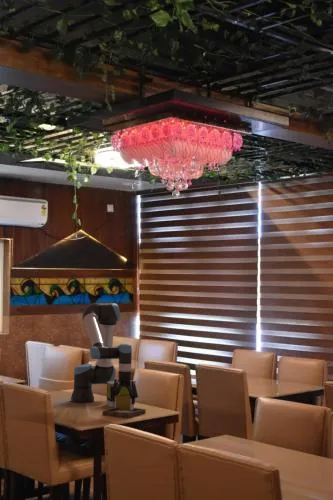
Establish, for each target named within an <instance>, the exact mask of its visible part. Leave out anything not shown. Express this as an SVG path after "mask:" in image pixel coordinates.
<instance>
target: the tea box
mask: <svg viewBox="0 0 333 500" xmlns="http://www.w3.org/2000/svg"><path fill="white" fill-rule="evenodd" d="M113 385H114V381H113V382H107V384H106V406H108V407H109V406H110V407H109V408H115V402H114V396H113V395H111V393H112V389H113ZM118 385H119V382H118ZM130 385H131V383H130ZM117 388H118V386H117ZM131 388H132V386H131ZM116 390H117V389H116ZM119 394H129V391H128V389H127V388H126V387H122V388H121V390H120V392H119ZM119 394H118V395H119Z"/></svg>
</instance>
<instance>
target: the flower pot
mask: <svg viewBox="0 0 333 500" xmlns="http://www.w3.org/2000/svg"><path fill="white" fill-rule="evenodd" d="M115 398H116V404H117V407H118V409H119V410H120V411H128V410H130V399H131V396H130V394H119V395H117V396H115Z"/></svg>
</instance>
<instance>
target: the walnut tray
mask: <svg viewBox="0 0 333 500" xmlns="http://www.w3.org/2000/svg"><path fill="white" fill-rule="evenodd" d="M146 411H147V409H146V408H137V407H134V410H128V411H120V410H119V409H118V408H115V407H110V408H108V409H102V416H110V417H114V418H116V417H117V418H123V419H130V418H131V419H132V418H135V417H137V416H142V415H145V414H144V413H146ZM141 414H142V415H141ZM146 414H147V413H146Z"/></svg>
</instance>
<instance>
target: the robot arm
mask: <svg viewBox="0 0 333 500" xmlns="http://www.w3.org/2000/svg"><path fill="white" fill-rule="evenodd" d="M120 319H121V313H120V308H119V305H118V304H117V303H116V302H115V303H114V302H93V303H90V304H88V306H87V307H85V309H84V311H83V313H82V321H83V324H84V325H85V326H86V329H87V333H88V334H87V335H88V338H89V341H90V344H91V347H90V348H89V357H90V359H92V360H97V361H96V362H95V365H93V363H86V364H85V363H84V364H79V365H76V366H75V367H74V369H73V389H72V393H71V395H70V402H72V403H78V404H80V403H81V404H83V403H85V404H86V403H93V402H95V396H94V393H93V385H107V382H114V385H113V389H112V393H111V395H113V396H114V402H115V407H114V408H118V407H117V404H116V398H115V396H117V395H118V394H119V392H120V390H121V388H122V387H126V388H127V389H128V391H129V394H130V396H131V399H130V410H134V408H135V405H136V404H135V403H136V399H137V398H139V395H138V390H137V386H136V385H137V384H136V380H132V358H133V357H132V354H133V353H132V351H133V348H132V344H131V343H120V344H119V345H113V344H114V332H115V331H114V330H115V326H116V325H117V322H119V321H120ZM117 359H118V376H117V375H116V374H117V371H116V366H114V363H113V362H112V360H117ZM116 376H117V377H118V378H116ZM118 382H119V385H118ZM130 383H131V385H130ZM117 386H118V388H117ZM131 386H132V388H131ZM116 389H117V390H116Z"/></svg>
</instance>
